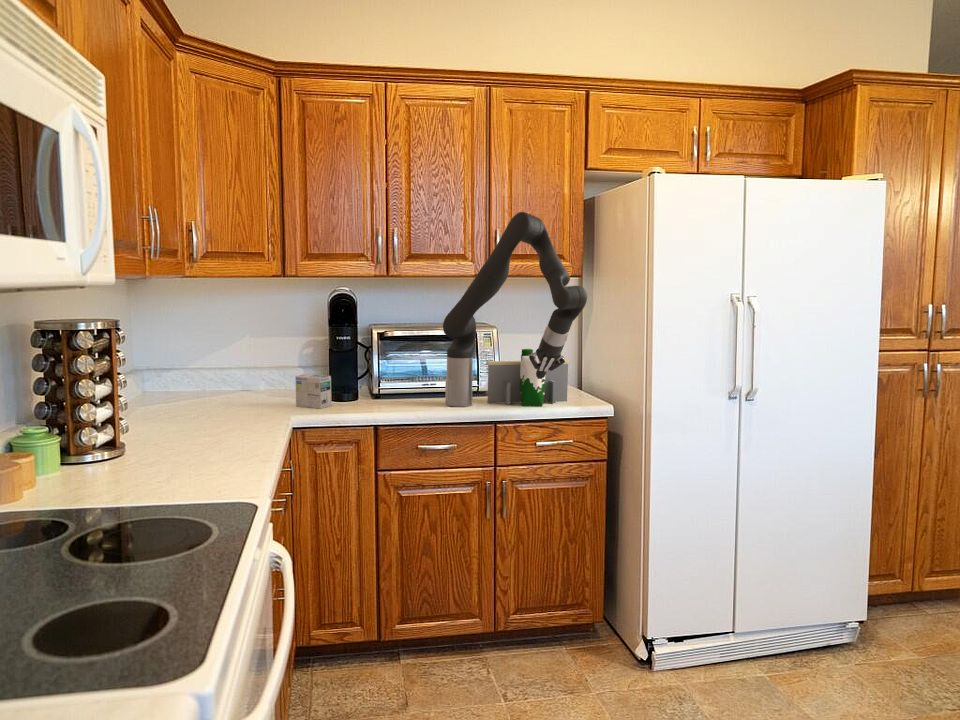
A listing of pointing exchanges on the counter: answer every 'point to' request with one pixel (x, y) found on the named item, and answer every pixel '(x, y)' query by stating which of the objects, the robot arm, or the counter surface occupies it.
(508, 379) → the grey backboard
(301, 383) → the light bulb box
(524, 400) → the soya milk
